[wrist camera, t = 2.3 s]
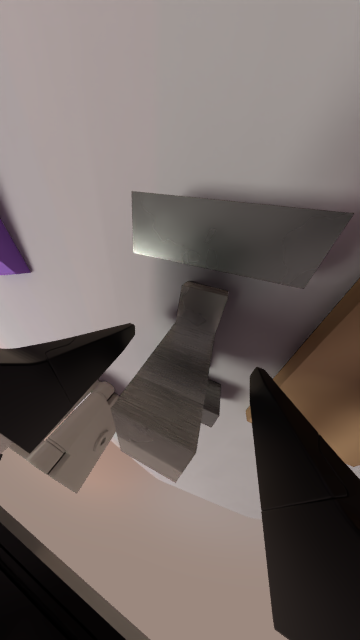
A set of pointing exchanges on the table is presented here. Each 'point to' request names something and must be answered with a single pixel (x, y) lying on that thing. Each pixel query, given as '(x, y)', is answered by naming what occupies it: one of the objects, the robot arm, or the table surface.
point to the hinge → (77, 439)
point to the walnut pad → (330, 378)
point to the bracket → (10, 255)
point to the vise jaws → (234, 243)
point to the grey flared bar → (172, 387)
